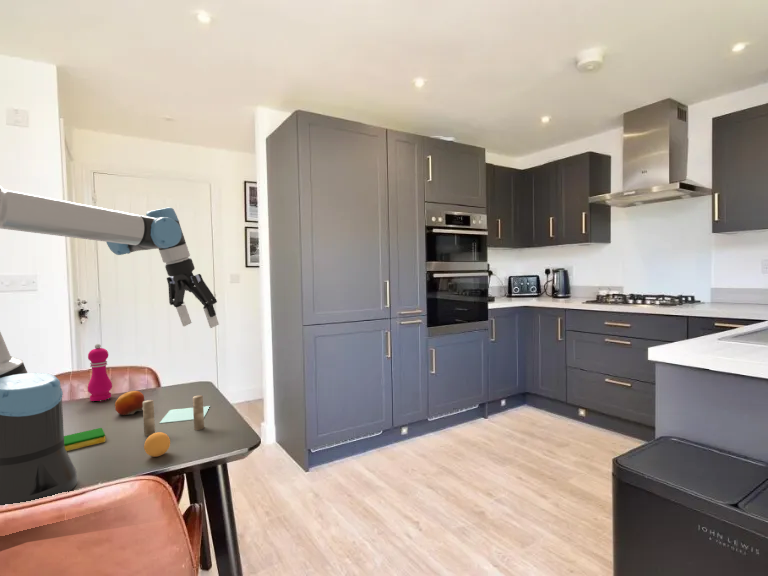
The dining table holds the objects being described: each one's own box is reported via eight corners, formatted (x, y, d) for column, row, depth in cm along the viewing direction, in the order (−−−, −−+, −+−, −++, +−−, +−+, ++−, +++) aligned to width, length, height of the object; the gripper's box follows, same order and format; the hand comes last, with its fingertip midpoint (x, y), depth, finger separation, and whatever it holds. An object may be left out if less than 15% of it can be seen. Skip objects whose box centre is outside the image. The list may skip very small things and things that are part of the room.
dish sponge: (36, 451, 105) (36, 441, 104) (102, 435, 114) (101, 427, 113) (37, 460, 99) (36, 450, 99) (105, 443, 108) (105, 434, 108)
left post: (142, 436, 111) (141, 403, 111) (146, 432, 113) (144, 400, 113) (153, 435, 112) (151, 402, 111) (156, 431, 114) (154, 399, 114)
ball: (141, 462, 95) (140, 438, 95) (148, 452, 100) (147, 430, 100) (167, 458, 96) (166, 435, 96) (173, 449, 102) (172, 427, 102)
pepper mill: (116, 398, 148) (113, 342, 147) (94, 403, 142) (90, 346, 141) (107, 395, 152) (104, 341, 151) (84, 400, 145) (81, 344, 145)
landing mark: (159, 423, 120) (159, 422, 120) (170, 410, 132) (170, 409, 132) (203, 418, 123) (203, 418, 123) (210, 406, 135) (210, 405, 135)
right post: (193, 430, 114) (191, 398, 114) (195, 427, 116) (193, 395, 116) (203, 429, 115) (201, 397, 114) (205, 426, 117) (203, 395, 117)
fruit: (136, 413, 126) (123, 390, 126) (118, 425, 127) (105, 403, 128) (155, 404, 134) (143, 383, 134) (138, 416, 135) (126, 395, 136)
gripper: (214, 254, 119) (236, 321, 125) (164, 258, 131) (186, 319, 138) (192, 262, 113) (216, 332, 119) (142, 266, 125) (166, 328, 132)
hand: (200, 325), depth 128 cm, fingers open, 13 cm apart
